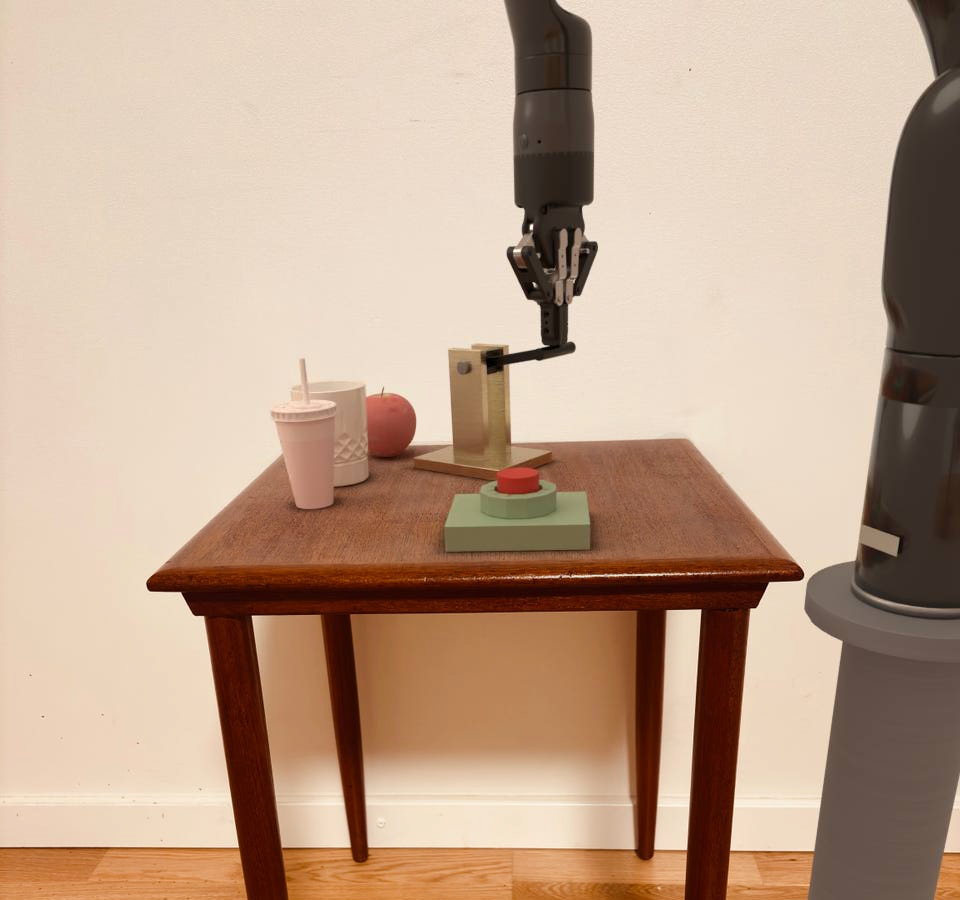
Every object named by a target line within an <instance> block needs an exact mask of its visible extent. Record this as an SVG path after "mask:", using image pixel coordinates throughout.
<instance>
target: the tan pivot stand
mask: <svg viewBox="0 0 960 900" xmlns="http://www.w3.org/2000/svg"><path fill="white" fill-rule="evenodd" d="M470 346H471V348H463V347H451V348H448V349H447V356H448V357H447V358H448V373H449V377H448V378H449V393H450V394H449V395H450V413H451V415H450V416H451V432H452V445H450V446H446V447H444V448H440V449H437V450H434V451H431V452H430V451H429V452H427V453H425V454H420V455H418V456H414V457H413V458H412V459H413V467H414V469H418V470H423V471H430V472H437V473H441V474H442V473H443V474H449V475H456V476H461V477H468V478H473V479H479V480H480V479H481V480H487V481H492V482H493V481H497V473H498V472H499V471H501V470H504V469H509V468H531V469H536V468H539V467H542V466H544V465H547V464H549V463H552V462H553V456H552V455H553V451H552V450H544V449H537V448H529V447H523V446H521V447H520V446H513V445H512V423H511V421H512V420H511V383H510V381H511V380H510V364H508V365H502V366H496V369H497V373H493V374H489V375H487V365H486V351H489V350H493V352H494V357H495V356H500V355H506V354H510V348H509V347H510V345H509V344H499V343H497V344H495V343H479V342H477V343H472V344H471V345H470Z"/></svg>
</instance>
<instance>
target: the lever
mask: <svg viewBox="0 0 960 900" xmlns="http://www.w3.org/2000/svg"><path fill="white" fill-rule="evenodd" d="M576 350H577V346H576V344H575V342H573V341H571V340H570V341H567V343H566V344H563V345H559V346H542V347H537V348H534V349H528V350H523V351H517V352H512V353H509V354H506V355H500V356H495V357H494V352H493V350H489V351H486V365H487V375H489V374H493V373H497V369H496V366H502V365H508V364H509V365H512V364H518V363H524V362H530V361H536V362H541V361H545V360H549V359H554V358H559V357H563V356H567V355H572V354H574V353H575V352H576Z"/></svg>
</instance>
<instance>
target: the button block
mask: <svg viewBox="0 0 960 900" xmlns="http://www.w3.org/2000/svg"><path fill="white" fill-rule="evenodd" d="M587 495H588V494H587V491H557V484H555V483H553V482H551V481H548V480H546V479H545V480H544V479H539V491H538V492H535V493H529V494H518V495H509V494H502V493H498V491H497V481H493V480H492V481H491V482H487V483H485V484H484V485H481V486H480V489H479V493H455V495H454V498H453V500H452V503H451V506H450V508H449V512H448V515H447V518H446V521H445V524H444V527H443V530H444V549H445V552H446V553H455V552H457V553H458V552H459V553H460V552H461V553H462V552H522V551H523V552H525V551H527V552H528V551H529V552H530V551H532V552H533V551H534V552H535V551H589V550H591V517H590V511H589V502H588V496H587Z"/></svg>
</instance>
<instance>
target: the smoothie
mask: <svg viewBox="0 0 960 900" xmlns="http://www.w3.org/2000/svg"><path fill="white" fill-rule="evenodd" d="M298 364H299V373H300V381H301V383H300V384H302V391H303V400H300V401H292V400H291V401H286V402H281V403H277V404H275V405H271V407H270V408H269V412H270V419H271V420H272V421H274V424H275V428H276V432H277V436H278V440H279V444H280V447H281V451H282V457H283V460H284V463H285V467H286V471H287V475H288V478H289V483H290V487H291V491H292V495H293V499H294V503H295V506H296V508H299V509H301V510H316V509H318V510H319V509H323V508H327V507H329V506H332V505H333V504H334V495H335V494H334V493H335V492H334V491H335V490H334V489H335V487H334V434H335V416H336V415H337V414H338V412H337V406H336V403H335V402H333V401H328V400H309V391H308V375H307V366H306V365H307V364H306V358H302V357H301V358H298Z"/></svg>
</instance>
